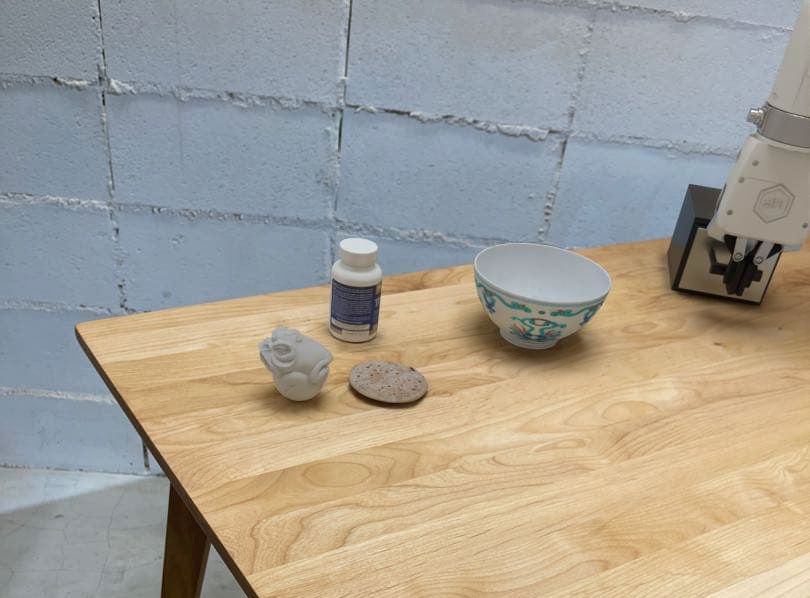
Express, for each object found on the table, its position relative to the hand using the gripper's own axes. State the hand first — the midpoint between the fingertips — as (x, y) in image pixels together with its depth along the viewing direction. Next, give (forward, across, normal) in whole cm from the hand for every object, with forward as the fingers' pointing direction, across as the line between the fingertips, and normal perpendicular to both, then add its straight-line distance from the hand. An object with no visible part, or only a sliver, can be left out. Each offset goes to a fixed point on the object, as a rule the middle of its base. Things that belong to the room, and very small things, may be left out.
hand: (733, 290), depth 101 cm
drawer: (+3, 0, +10) cm, 11 cm away
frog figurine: (+5, -44, -34) cm, 56 cm away
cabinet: (+4, 0, +14) cm, 15 cm away
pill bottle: (+5, -42, -19) cm, 47 cm away
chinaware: (+5, -23, -12) cm, 27 cm away
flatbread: (+5, -36, -29) cm, 47 cm away
